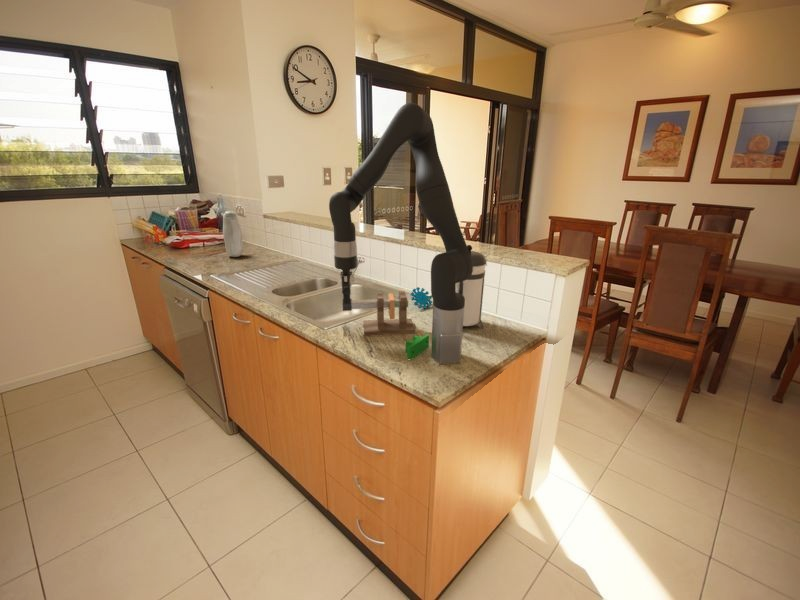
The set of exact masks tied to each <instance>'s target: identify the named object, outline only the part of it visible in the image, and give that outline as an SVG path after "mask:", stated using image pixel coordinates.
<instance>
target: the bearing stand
mask: <svg viewBox="0 0 800 600" xmlns="http://www.w3.org/2000/svg"><path fill="white" fill-rule="evenodd" d="M376 299H377V301H378V308H376V320H375V319H374V320H371V319H370V320H362V321H363V336H364V337H378V336H397V335H398V336H400V335H402V336H403V335H416V328H415V326H414V325H415V324H414V323H413V320H412V319H413V318H408V317H407V316H408V315H407V314H408V313H407V312H408V310H407V309H408V307H407V299H408V296H407V295H406V292H405V290H398V299H400V307H398V318H396V319H385V318H384V315H385V312H384V311H385V310H384V309H385V308H384V299H385V298H384V293H383V291H376Z"/></svg>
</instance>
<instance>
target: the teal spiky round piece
mask: <svg viewBox="0 0 800 600" xmlns="http://www.w3.org/2000/svg"><path fill="white" fill-rule="evenodd" d="M424 291H425V288H424V287H422V288H420V287H418V286H417V287H416V288H413V289H412V290H411V293H410V296H411V298H410V300H411V301H413V305H414V306H417V305H418V304H419V305H418V306H417V307H418V308H419V309H421V308H422V309H423V310H426V309H427V308H430V307H431V304H433V300H432V299H433V298H432V294H431V295H429V291H425V292H424Z"/></svg>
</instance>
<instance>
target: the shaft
mask: <svg viewBox="0 0 800 600" xmlns="http://www.w3.org/2000/svg"><path fill="white" fill-rule="evenodd" d="M394 299H395V308H399V307H400V299H399V298H394ZM377 308H378V301H377V298H375V299H373V298H372V299H352V298H350V304H344V301H343V300H342V311H343V312H350V311H352V310H358V309H359V310H361V309H362V310H363V309H366V310H367V309H377ZM388 308H390V301H389V299H388V298H384V309H388ZM407 308H409V299H408V298H407Z"/></svg>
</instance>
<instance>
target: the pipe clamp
mask: <svg viewBox="0 0 800 600" xmlns="http://www.w3.org/2000/svg"><path fill="white" fill-rule="evenodd" d="M412 338H413V339H412V340H408V339H407V340H406V341H405V354H406V353H407V354H406V360H407V359H412V358H413V359H415V358H416V357H417V356H418V355H420V354H421V353H423V352H424V351H425V350H427V349H428V348H429V346H430V334H427V333H426V334H424V335H423V336H418V335H416V334H413V337H412ZM419 353H420V354H419ZM415 356H416V357H415ZM413 359H412V360H413Z"/></svg>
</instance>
